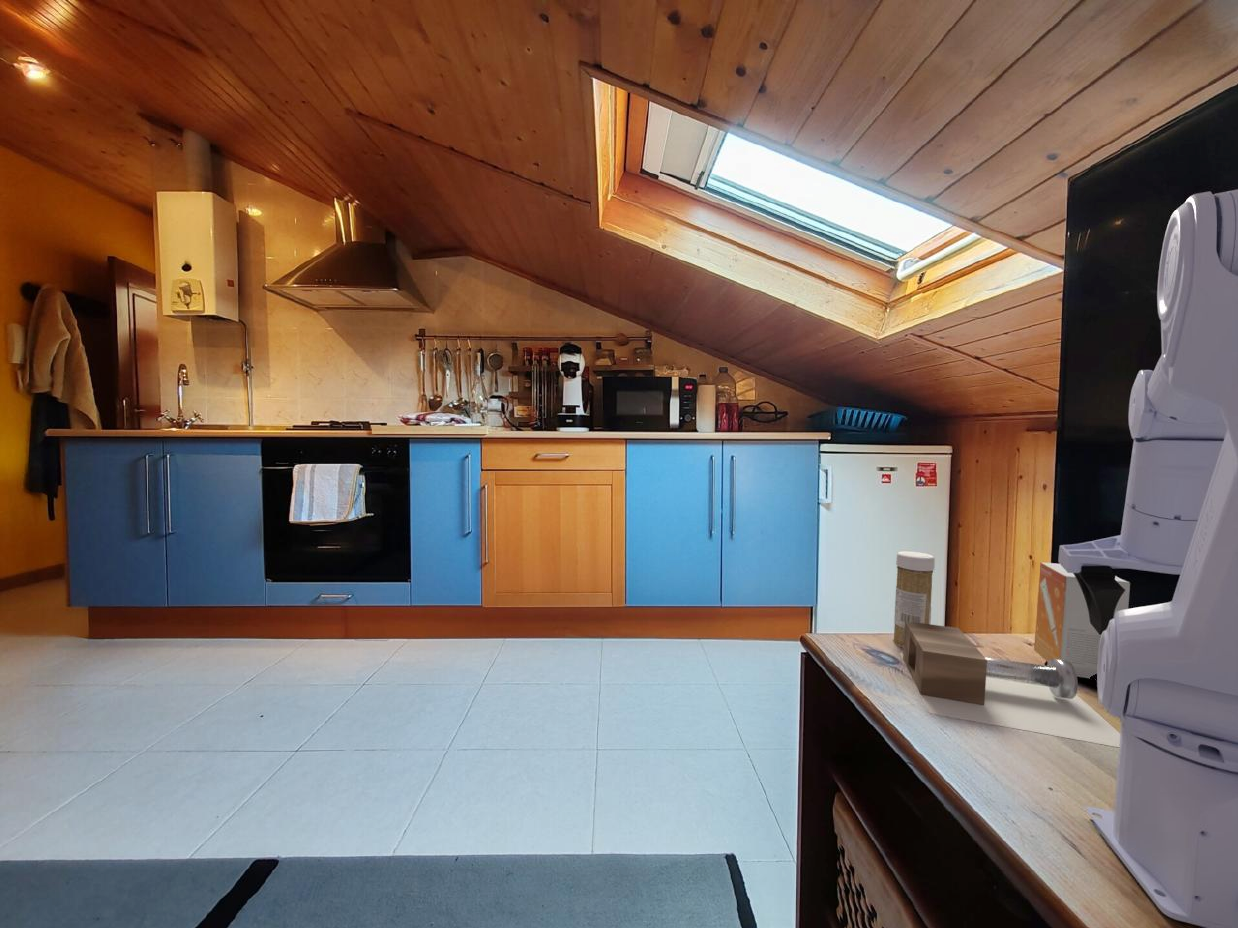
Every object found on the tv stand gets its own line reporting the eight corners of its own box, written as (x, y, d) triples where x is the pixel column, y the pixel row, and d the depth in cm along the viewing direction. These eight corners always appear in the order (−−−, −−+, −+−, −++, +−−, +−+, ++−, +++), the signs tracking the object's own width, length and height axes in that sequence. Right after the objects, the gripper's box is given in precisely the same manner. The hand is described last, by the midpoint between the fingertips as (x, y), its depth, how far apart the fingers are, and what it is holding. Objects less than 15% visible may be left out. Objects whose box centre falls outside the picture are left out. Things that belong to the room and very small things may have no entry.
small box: (1032, 653, 70) (1039, 561, 69) (1090, 662, 68) (1097, 566, 67) (1058, 678, 62) (1065, 575, 62) (1124, 689, 60) (1132, 582, 59)
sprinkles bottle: (935, 650, 70) (941, 555, 69) (919, 657, 67) (924, 558, 67) (902, 639, 74) (907, 548, 73) (885, 645, 71) (890, 551, 70)
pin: (1076, 705, 54) (1078, 669, 54) (944, 684, 58) (946, 650, 58) (1057, 688, 58) (1060, 654, 57) (935, 669, 62) (937, 637, 61)
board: (1138, 757, 47) (1139, 750, 47) (929, 718, 52) (929, 712, 52) (1055, 680, 62) (1055, 675, 62) (899, 657, 67) (899, 652, 67)
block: (984, 705, 54) (987, 660, 54) (920, 694, 56) (923, 650, 56) (956, 666, 63) (958, 628, 63) (902, 658, 65) (904, 621, 65)
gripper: (1248, 479, 45) (1220, 604, 49) (1048, 490, 50) (1039, 602, 55) (1322, 517, 39) (1281, 656, 43) (1085, 526, 44) (1071, 649, 48)
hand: (1149, 629), depth 48 cm, fingers open, 7 cm apart
